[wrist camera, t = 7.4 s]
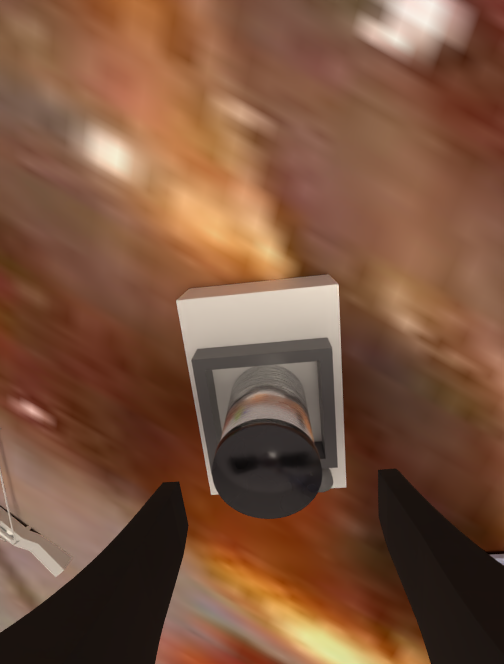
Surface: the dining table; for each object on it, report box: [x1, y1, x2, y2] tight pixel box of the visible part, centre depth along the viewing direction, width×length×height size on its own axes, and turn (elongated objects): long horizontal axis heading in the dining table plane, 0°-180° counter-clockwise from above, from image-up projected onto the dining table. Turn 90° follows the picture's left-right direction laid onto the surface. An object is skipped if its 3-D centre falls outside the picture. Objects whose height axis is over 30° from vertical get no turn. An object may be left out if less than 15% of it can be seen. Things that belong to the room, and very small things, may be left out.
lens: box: [212, 365, 322, 519], centre depth 17 cm, size 4×4×6 cm
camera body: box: [176, 274, 346, 495], centre depth 20 cm, size 12×8×4 cm, turn 6°
